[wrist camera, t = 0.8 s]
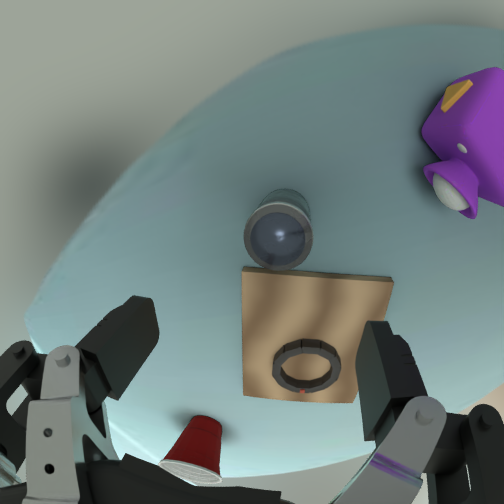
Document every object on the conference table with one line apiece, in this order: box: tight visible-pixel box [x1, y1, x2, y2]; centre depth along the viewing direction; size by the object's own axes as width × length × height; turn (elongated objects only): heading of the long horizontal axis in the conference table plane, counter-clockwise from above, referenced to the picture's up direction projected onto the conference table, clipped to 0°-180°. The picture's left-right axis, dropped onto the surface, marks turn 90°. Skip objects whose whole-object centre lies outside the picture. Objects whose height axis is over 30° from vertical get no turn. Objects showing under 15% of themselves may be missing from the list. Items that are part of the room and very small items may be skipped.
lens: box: [244, 189, 313, 271], centre depth 22 cm, size 5×5×8 cm
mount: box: [242, 267, 394, 403], centre depth 30 cm, size 16×20×3 cm
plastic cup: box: [158, 416, 222, 484], centre depth 37 cm, size 11×11×12 cm
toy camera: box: [422, 67, 504, 219], centre depth 15 cm, size 11×14×10 cm
